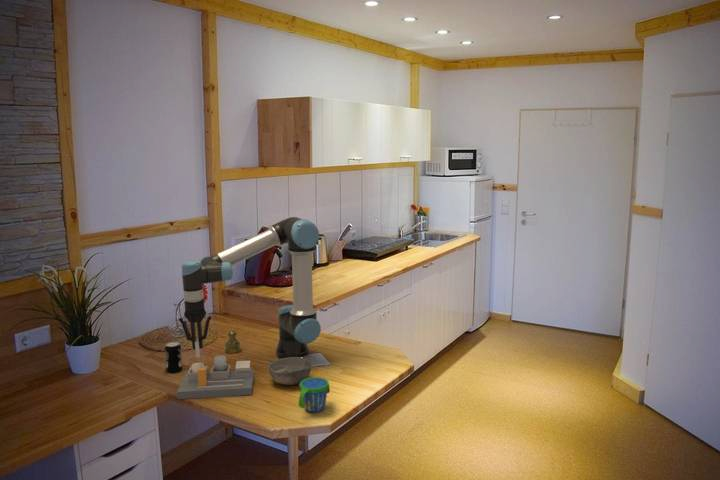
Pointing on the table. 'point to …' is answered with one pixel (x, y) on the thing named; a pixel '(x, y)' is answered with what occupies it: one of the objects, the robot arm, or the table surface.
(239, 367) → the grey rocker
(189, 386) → the console
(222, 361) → the pale blue rounded cube
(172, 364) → the beverage can
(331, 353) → the table surface
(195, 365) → the white rounded cube
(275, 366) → the bowl
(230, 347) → the green figurine
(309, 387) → the snack cup
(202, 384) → the orange slider
